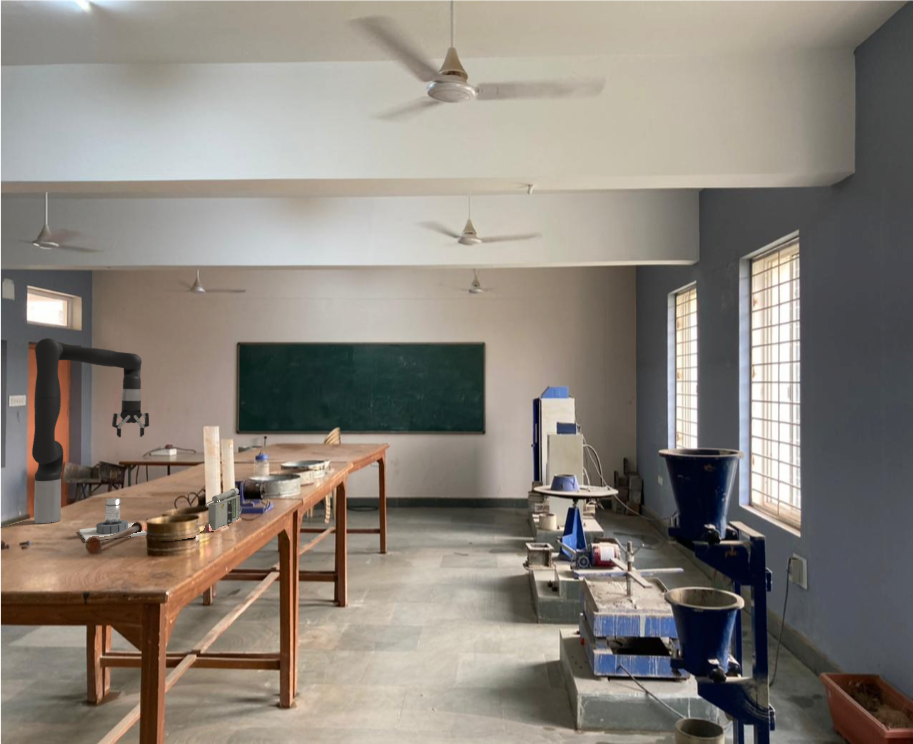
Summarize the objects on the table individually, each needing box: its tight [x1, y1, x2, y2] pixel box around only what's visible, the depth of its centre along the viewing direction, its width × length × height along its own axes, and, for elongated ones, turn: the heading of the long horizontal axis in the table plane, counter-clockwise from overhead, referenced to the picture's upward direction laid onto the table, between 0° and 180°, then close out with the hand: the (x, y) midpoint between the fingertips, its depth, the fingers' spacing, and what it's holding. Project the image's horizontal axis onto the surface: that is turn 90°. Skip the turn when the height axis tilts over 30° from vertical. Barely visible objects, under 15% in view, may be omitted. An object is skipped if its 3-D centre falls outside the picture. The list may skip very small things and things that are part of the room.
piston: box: [104, 497, 121, 525], centre depth 255 cm, size 5×5×12 cm
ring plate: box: [78, 519, 147, 542], centre depth 255 cm, size 20×20×4 cm
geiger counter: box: [204, 487, 242, 530], centre depth 270 cm, size 14×6×25 cm
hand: (130, 437), depth 289 cm, fingers open, 8 cm apart
